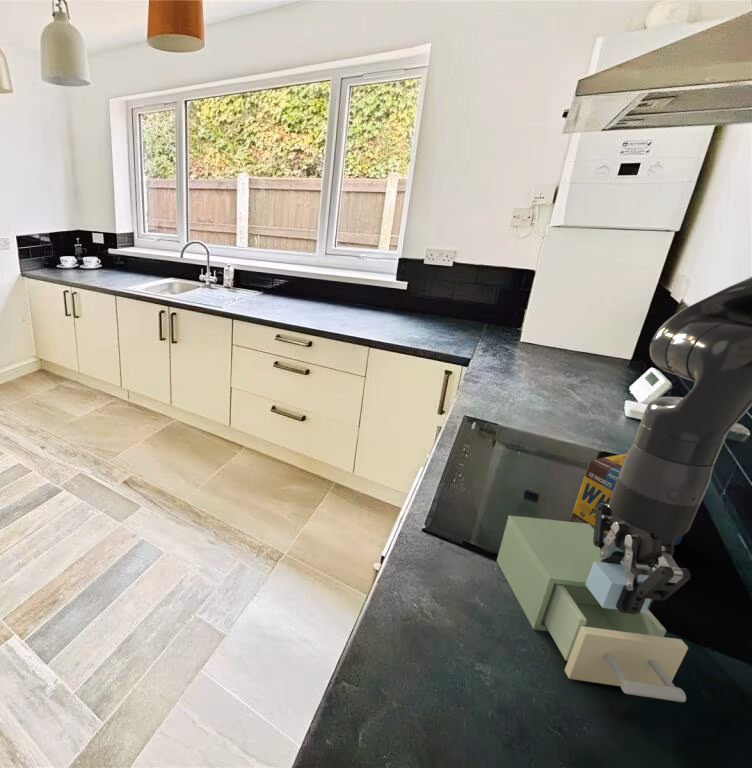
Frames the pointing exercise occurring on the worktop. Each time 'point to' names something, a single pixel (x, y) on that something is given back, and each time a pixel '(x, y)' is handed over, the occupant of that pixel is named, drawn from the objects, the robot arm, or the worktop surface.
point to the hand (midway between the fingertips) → (614, 596)
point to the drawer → (613, 645)
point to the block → (609, 584)
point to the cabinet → (545, 560)
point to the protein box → (598, 489)
